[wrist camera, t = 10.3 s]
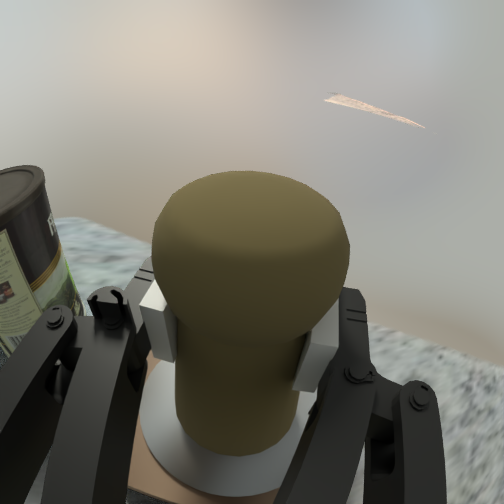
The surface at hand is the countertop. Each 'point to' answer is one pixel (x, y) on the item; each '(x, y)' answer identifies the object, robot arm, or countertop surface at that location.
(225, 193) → the cork
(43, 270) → the coffee can
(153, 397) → the walnut plinth
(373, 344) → the countertop surface
